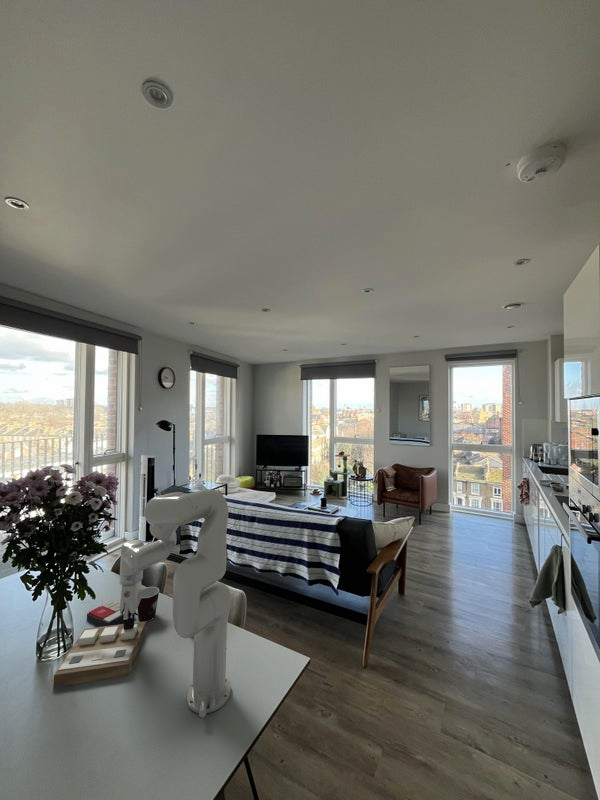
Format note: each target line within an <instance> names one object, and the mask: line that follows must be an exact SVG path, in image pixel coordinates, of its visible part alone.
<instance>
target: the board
mask: <svg viewBox="0 0 600 800" xmlns="http://www.w3.org/2000/svg"><path fill="white" fill-rule="evenodd" d="M134 624H137V634H136V636H135V638H134V639H127V640H120V638H121V632H122V630H123V628H124V624H120V625H112V626H103V627H98V626H96V627H87V628H84V629H83V630H82V632H81V634H80V635H79V636H78V639H77V640H76V641H75V643H74V644H73V646H72V647H71V649H70V650H69V652H68V653H67V654H66V656H65V658H64V659H63V661H62V662H61V664H60V665H59V667H58V668H57V670H56V671H55V672H54V674H53V688H54V687H62V686H67V685H69V686H70V685H75V684H80V683H81V684H82V683H88V682H89V683H90V682H94V681H101V680H107V679H113V678H120V677H121V678H122V677H125V676H127V677H128V676H129V675H130V672H131V670H132V667H133V665H134V662H135V660H136V656H137V654H138V651H139V648H140V646H141V643H142V641H143V637H144V635H145V633H146V621H145V622H140V621H139V622H138V621H137V622H134ZM116 626H118V635H117V637H116V639H115V641H111V642H104V643H100V636H101V634H102V632H103V630H104V629H105V628H108V627H116ZM92 629H98V638H97V639H96V641H95V643H94V644H88V645H81V646H79V639H80V637H81V635H82V634H83V632H84V631H85V630H92Z"/></svg>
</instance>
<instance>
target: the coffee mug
mask: <svg viewBox="0 0 600 800" xmlns="http://www.w3.org/2000/svg"><path fill="white" fill-rule="evenodd" d="M159 594H160V589H159V587H156V586H148V587H144V588H141V601H140V603H139V605H138V608H137V610H136V611H135V614H134V615H135V616H137V620H138V621H139V622H145V621H147V622H150V621H152V620H153V619H155V618H156V615H157V614H156V613H157V608H158V603H159V601H158V600H159ZM155 614H156V615H155ZM152 618H153V619H152ZM151 619H152V620H151ZM149 620H150V621H149Z"/></svg>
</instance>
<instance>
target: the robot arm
mask: <svg viewBox="0 0 600 800" xmlns="http://www.w3.org/2000/svg"><path fill="white" fill-rule="evenodd" d="M144 507H145V508H144V511H143V512H144V514H143V515H144V518H145V520H146V522H147V523H148V524H149V532H150V534H151V535H152V537H154V538H155V539H157V540H156V541H153V542H150V543H147V544H144V541H142V540H141V539H131V540H127V541H126V542H124V543H122V545H121V548H120V562H119V563H120V566H119V585H121V591H120V602H119V603H120V614H121V615H122V614H123V612H124V618H123V619H124V628H123V629H124V630H127V629H133V627H134V623H135V618H136V617H135V616H136V615H135V611H136V612H137V611H138V609H137V608H138V605H139V603H140V601H141V589H142V580H143V575H144V574H143V573H144V570H145V569H148V568H150V567H152V566H154V565H157V564H159V563H161V562H164V561H165V560H166V559H168V557H170V555H171V554H172V552H173V551H174V549H175V547H176V545H177V540H178V539H177V538H178V537H177V533H176V531H177V529H178V528H179V526H185V525H187V524H190V523H193V522H196V521H198V520H202V519H204V520H203V522H202V524H201V527H200V528H199V532H198V535H197V550H196V553H195V554H194V555H193V556H190V557H188V558H186V559H184V560H183V561H181V562H180V564H178V566H177V567H176V569H175V571H174V575H173V579H172V580H173V581H172V623H173V627H174V629H175V631H176V633H177V635H178V636H179V637H180V638H182V639H183V638H184V639H190V638H193V637H194V638H193V639H194V640H193V661H192V684H191V685H190V686H189V688H188V690H187V693H186V705H187V707H188V709H190V710H191V711H192V712H194V713H197V714H198V716H199V717H200V718H205V716H207V714H209V713H214V712H215V711H217V710H219V709H220V708H222V707H223V706H224V705H225V704H226V703H227V702H228V700H229V698H230V696H231V690H232V689H231V688H232V687H231V684H230V681H229V679H228V678H226V676H227V675H226V673H227V668H226V667H227V637H228V622H229V615H230V611H231V610H230V609H231V604H232V595H231V592H230V589H229V587H228V586H227V585H226V584H224V583H223V582H220V580H222V578H223V577H224V575H225V574H226V571H227V532H228V531H227V529H228V522H229V505H228V503H227V499H226V498H225V497H224V495H223V493H221V491H218V490H217V489H211V488H210V489H201V490H198V491H193V492H189V493H185V492H182V491H175V492H169V493H166V494H162V495H157V496H154V497H152V498H151V499H149V500H148V501H147V503H146V505H145V506H144Z"/></svg>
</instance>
